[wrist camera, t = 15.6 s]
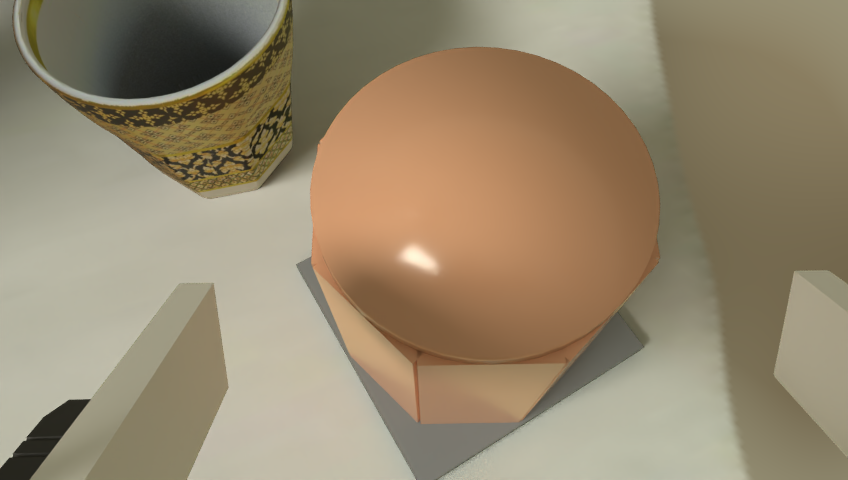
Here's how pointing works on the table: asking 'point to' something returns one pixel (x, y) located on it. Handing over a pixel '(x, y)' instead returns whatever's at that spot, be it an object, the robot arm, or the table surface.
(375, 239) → the peach domed post
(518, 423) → the slate mat
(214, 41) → the ceramic cup
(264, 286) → the table surface
